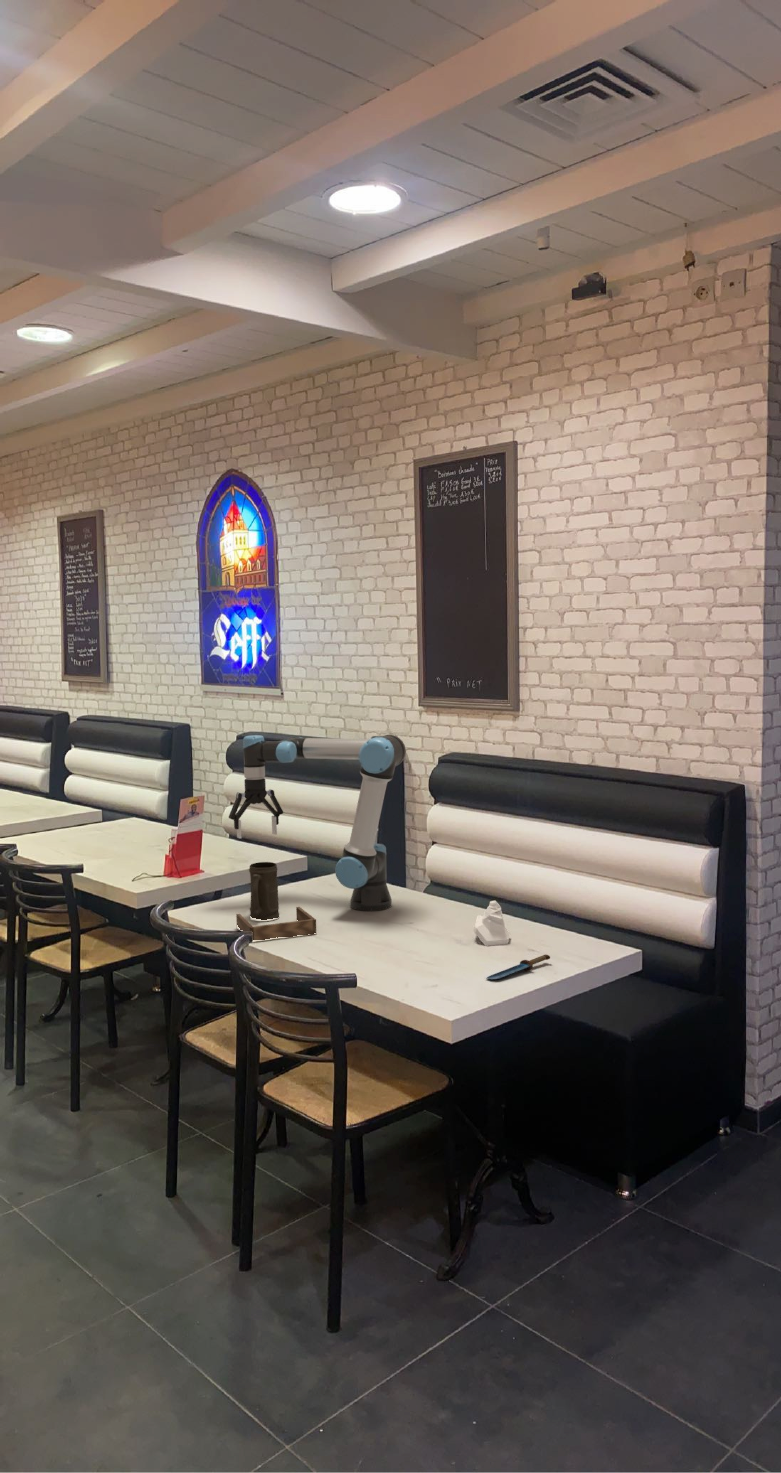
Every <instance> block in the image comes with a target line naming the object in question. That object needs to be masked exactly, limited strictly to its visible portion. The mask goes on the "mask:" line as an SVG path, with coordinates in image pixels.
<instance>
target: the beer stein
mask: <svg viewBox="0 0 781 1473" xmlns="http://www.w3.org/2000/svg"><path fill="white" fill-rule="evenodd" d="M248 872H249V874H250V876H249V878H250V908H249V913H250V914H249V917H250V916H251V917H252V918H256V919H261V920H267V919H273V918H278V917H279V915H280V913H279V909H280V906H279V904H280V903H279V883H278V866H277V863H276V862H271V861H261V862H254V863H251V864H250V865H249V869H248ZM279 918H280V917H279ZM279 918H278V919H279Z"/></svg>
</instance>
